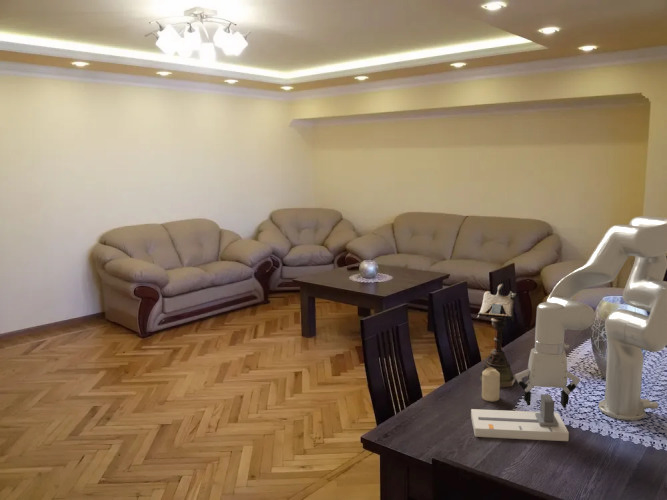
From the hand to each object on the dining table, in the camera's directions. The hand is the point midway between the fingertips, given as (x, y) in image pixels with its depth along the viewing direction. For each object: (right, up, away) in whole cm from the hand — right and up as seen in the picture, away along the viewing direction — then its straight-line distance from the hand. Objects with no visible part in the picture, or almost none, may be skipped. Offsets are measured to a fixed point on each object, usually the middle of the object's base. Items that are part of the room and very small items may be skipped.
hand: (545, 404), depth 154 cm
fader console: (-7, -8, +3) cm, 11 cm away
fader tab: (+1, -5, +1) cm, 5 cm away
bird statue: (-3, -3, +34) cm, 34 cm away
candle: (-9, -5, +23) cm, 25 cm away
